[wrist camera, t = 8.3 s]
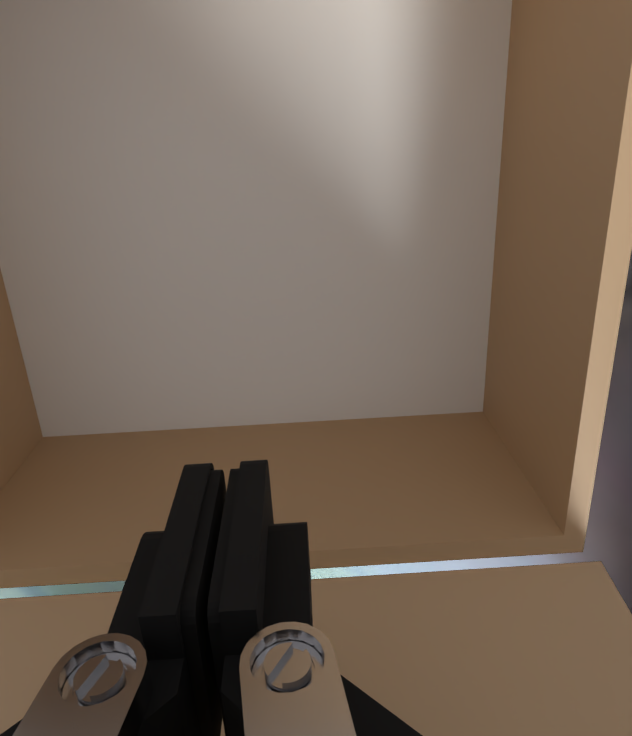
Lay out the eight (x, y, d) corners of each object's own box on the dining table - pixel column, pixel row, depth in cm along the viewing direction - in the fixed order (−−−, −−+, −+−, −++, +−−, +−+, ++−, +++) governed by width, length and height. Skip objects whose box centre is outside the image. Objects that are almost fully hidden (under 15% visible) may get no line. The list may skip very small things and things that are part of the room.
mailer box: (-111, -127, 16) (-435, -323, 9) (537, -152, 17) (729, -362, 9) (36, 443, 23) (-80, 593, 16) (492, 417, 24) (583, 551, 16)
